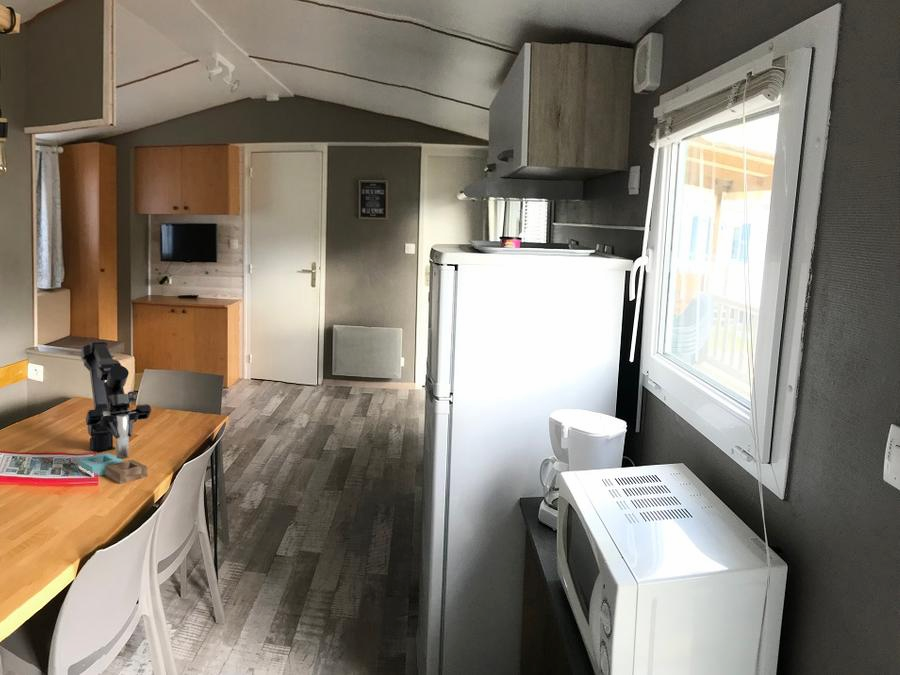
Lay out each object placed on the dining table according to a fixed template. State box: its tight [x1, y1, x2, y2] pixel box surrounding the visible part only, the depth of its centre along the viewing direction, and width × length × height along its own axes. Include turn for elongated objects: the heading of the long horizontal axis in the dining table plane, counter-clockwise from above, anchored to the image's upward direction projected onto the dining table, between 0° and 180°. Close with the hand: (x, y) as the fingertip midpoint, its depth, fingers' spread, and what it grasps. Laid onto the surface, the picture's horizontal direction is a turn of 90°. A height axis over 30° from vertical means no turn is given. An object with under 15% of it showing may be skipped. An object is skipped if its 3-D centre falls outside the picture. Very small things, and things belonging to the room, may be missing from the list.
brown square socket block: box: [105, 458, 148, 484], centre depth 215 cm, size 9×9×4 cm
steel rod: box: [115, 414, 130, 460], centre depth 214 cm, size 4×4×14 cm
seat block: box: [77, 452, 124, 477], centre depth 219 cm, size 10×10×4 cm
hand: (123, 437), depth 213 cm, fingers closed on steel rod, 4 cm apart
